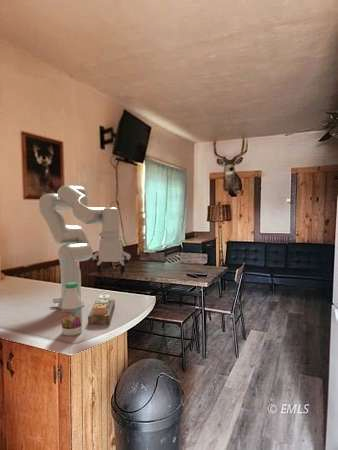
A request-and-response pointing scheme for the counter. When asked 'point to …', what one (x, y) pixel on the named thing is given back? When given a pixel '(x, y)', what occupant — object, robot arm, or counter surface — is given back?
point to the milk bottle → (71, 311)
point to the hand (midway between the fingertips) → (111, 273)
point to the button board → (101, 316)
